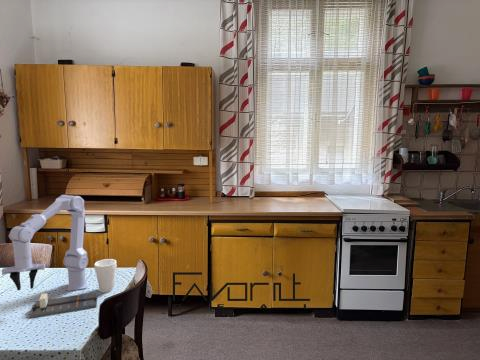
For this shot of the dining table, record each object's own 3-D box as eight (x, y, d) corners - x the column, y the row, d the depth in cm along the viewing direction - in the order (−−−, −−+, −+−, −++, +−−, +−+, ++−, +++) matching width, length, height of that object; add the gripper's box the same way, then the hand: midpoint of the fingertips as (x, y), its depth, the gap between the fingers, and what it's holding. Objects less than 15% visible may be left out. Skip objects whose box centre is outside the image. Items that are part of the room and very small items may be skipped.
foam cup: (94, 295, 151) (92, 267, 150) (97, 286, 160) (95, 260, 158) (116, 292, 154) (115, 265, 152) (118, 284, 163) (117, 258, 161)
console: (36, 303, 143) (35, 299, 143) (97, 294, 152) (97, 290, 152) (30, 318, 132) (29, 313, 132) (96, 307, 141) (96, 302, 140)
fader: (42, 302, 141) (41, 293, 140) (47, 301, 142) (47, 292, 141) (40, 308, 136) (39, 299, 136) (45, 307, 137) (45, 298, 136)
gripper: (-2, 262, 128) (1, 295, 129) (41, 257, 133) (44, 289, 135) (3, 255, 134) (6, 288, 136) (45, 251, 139) (47, 282, 141)
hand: (25, 288), depth 136 cm, fingers open, 4 cm apart
